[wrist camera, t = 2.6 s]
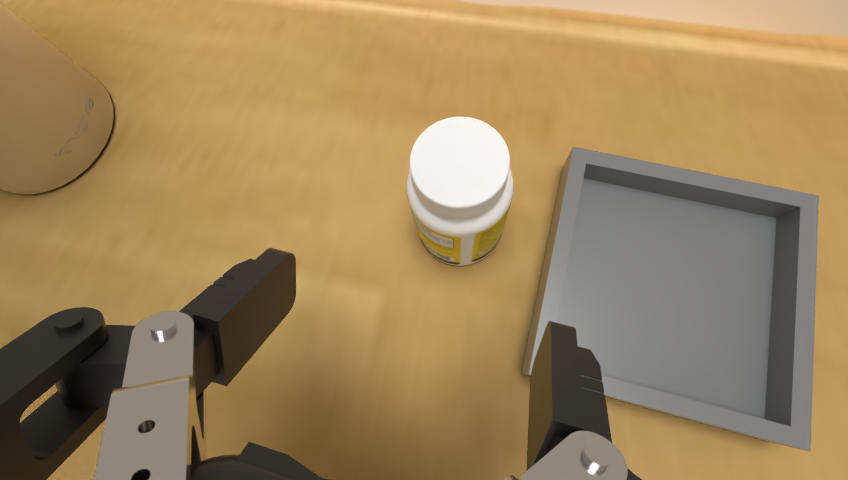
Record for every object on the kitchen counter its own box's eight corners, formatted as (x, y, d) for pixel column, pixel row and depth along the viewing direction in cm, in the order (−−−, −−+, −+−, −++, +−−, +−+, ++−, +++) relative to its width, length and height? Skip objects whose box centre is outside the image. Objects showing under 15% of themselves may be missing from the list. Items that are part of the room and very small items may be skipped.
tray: (520, 373, 23) (528, 374, 20) (562, 167, 26) (573, 146, 23) (769, 441, 21) (810, 451, 19) (782, 212, 24) (818, 195, 22)
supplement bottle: (495, 184, 26) (512, 100, 18) (507, 262, 24) (531, 209, 16) (414, 193, 26) (395, 114, 18) (421, 271, 25) (404, 223, 17)
